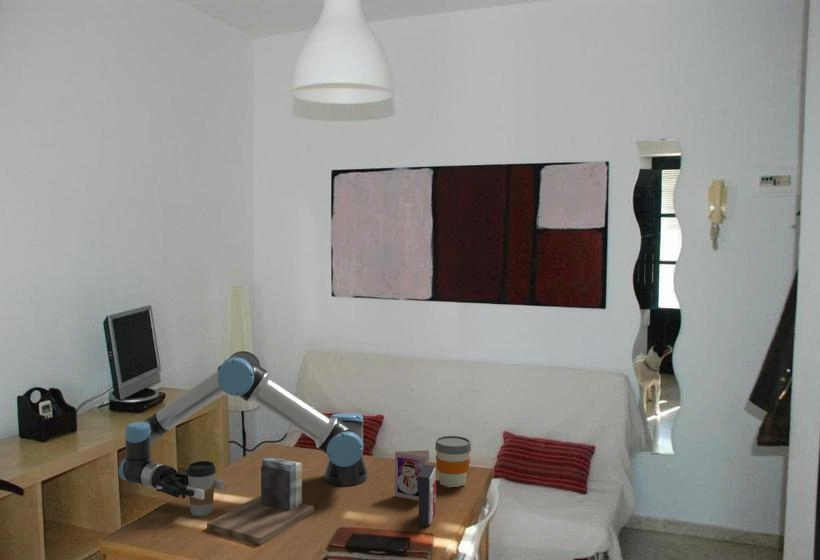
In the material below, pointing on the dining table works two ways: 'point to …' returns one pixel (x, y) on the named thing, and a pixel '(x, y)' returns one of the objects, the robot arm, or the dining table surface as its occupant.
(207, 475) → the coffee cup
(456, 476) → the reusable coffee cup
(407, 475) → the greeting card
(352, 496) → the dining table surface
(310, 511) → the block on wooden base
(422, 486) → the dark grey box
